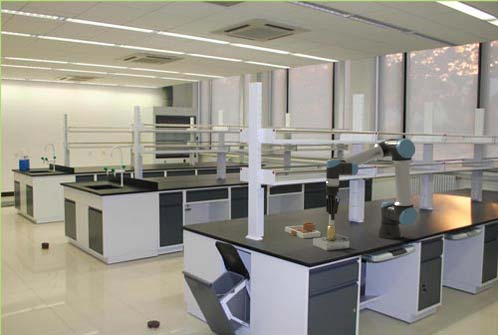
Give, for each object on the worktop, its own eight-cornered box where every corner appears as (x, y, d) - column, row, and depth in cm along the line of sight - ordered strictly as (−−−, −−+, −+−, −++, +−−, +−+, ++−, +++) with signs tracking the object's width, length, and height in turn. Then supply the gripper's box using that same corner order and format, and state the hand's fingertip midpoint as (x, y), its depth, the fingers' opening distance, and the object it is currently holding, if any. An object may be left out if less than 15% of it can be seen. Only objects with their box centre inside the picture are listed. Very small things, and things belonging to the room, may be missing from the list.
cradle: (301, 229, 309) (301, 225, 309) (320, 236, 288) (320, 232, 288) (284, 231, 304) (285, 226, 304) (302, 238, 283) (302, 233, 282)
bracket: (309, 231, 304) (310, 222, 304) (317, 234, 297) (318, 224, 297) (288, 233, 295) (289, 223, 295) (296, 236, 288) (296, 225, 288)
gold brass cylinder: (331, 245, 265) (332, 225, 265) (336, 246, 261) (336, 226, 261) (325, 245, 264) (326, 225, 263) (329, 247, 260) (330, 227, 259)
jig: (335, 242, 272) (335, 232, 272) (349, 247, 259) (349, 237, 259) (313, 244, 266) (313, 235, 265) (326, 250, 253) (326, 240, 252)
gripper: (320, 184, 264) (319, 223, 266) (333, 186, 253) (332, 227, 254) (331, 184, 268) (330, 222, 269) (344, 186, 256) (343, 226, 257)
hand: (331, 225), depth 262 cm, fingers closed
